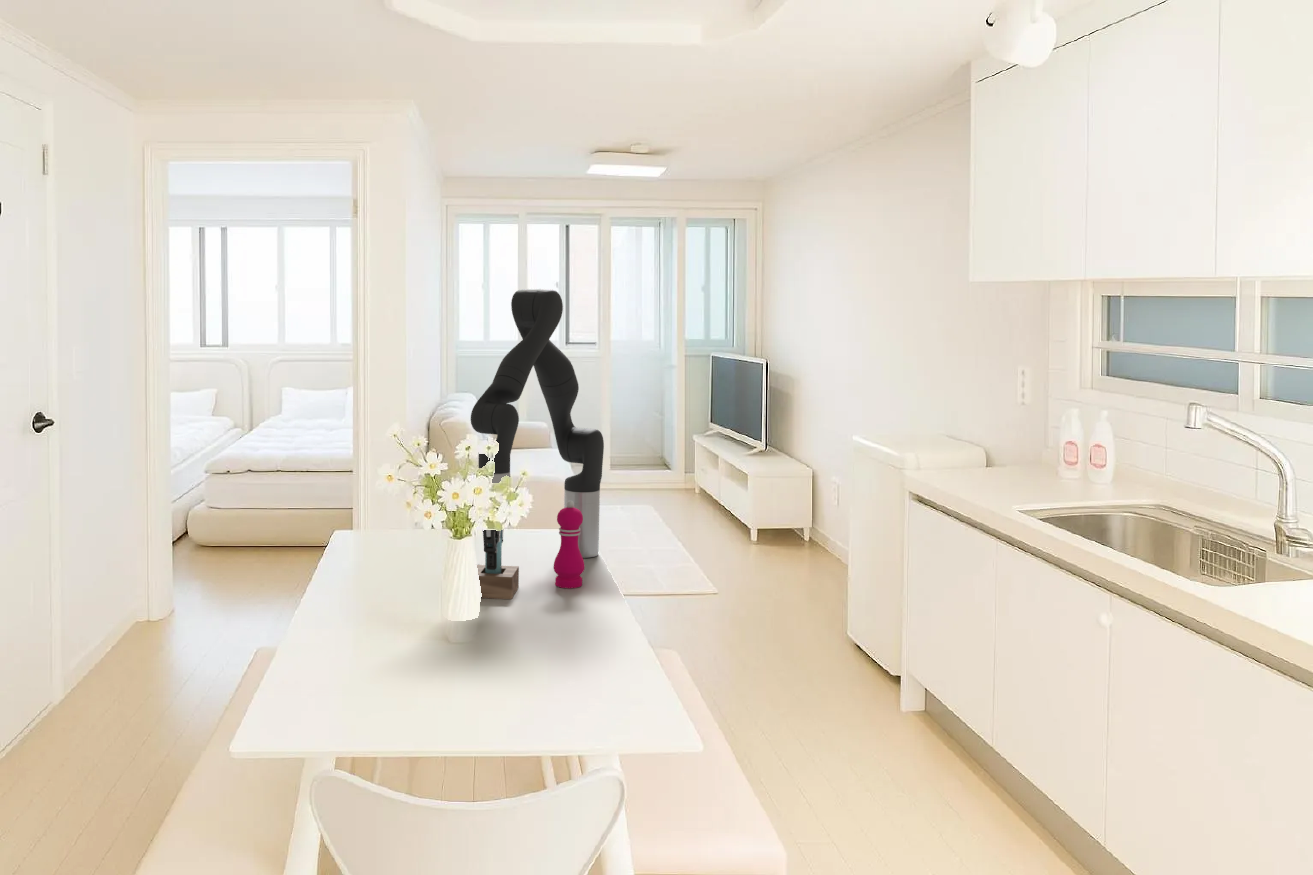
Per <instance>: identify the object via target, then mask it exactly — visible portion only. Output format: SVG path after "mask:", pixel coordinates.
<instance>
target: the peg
mask: <svg viewBox="0 0 1313 875" xmlns="http://www.w3.org/2000/svg"><path fill="white" fill-rule="evenodd" d="M495 539H496V538H495ZM502 545H503V543H502V538H500V542H499V543H498V546H497V549H498V552H497V568H496V569H495V570H488V569H487V553H486V552H484V553H485V555H484V556H485V558H484V559H485V561H484V565H485V573H489V574H501V566H502V554H503V553H502V548H503V546H502ZM489 547H493V544H489Z"/></svg>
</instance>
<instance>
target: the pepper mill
mask: <svg viewBox="0 0 1313 875" xmlns="http://www.w3.org/2000/svg"><path fill="white" fill-rule="evenodd" d="M566 505H567V507H566V508H564V507H563V508H561V509H560V510H559V511H558V513H557V516H556V522H557V524H558V525H559V528H558V530H559V532H558V535H560V545H559V550H558V552H557V554H556V557H555V558H554V562H553V571H554V573H555V574H556V577H555V581H554V583H555V584H554V585H555V586H556V587H557V588H562V589H576V588H580V587H582V586H583V577H582V576H581V575H582V574H583V572H584V571H585V568H586V567H585V561H584V558H583V557H582V555H581V553H580V550H579V546H578V536H579V535H580V530H581V529H580V528H579V526H580V525H581V524H582V522H583V515H582V513H581V511H580V510H579V509H577V508H574V507H573V506H574V503H573V501H568V502H567V504H566Z"/></svg>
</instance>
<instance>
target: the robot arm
mask: <svg viewBox="0 0 1313 875" xmlns="http://www.w3.org/2000/svg"><path fill="white" fill-rule="evenodd" d="M510 305H511V309H510V310H511V314H512V317H513V320H514V323H515V325H516V328H517V330H518V333H519V334H520V336H521V338H522V339H521V341H519V342H518V343H517V344H516V345H515V346H514V347H513V348H512V349H511V350H510V351H508V352H507V353H506V355H505V356H504V357H503V358H502V360H501V362H500V363H499V365H498V368H497V370H496V373H495V375H494V378H493V380H492V382H491V384H490V385H489V386H488V387H487V389H486V390H485V391H484V392H483V394H481V396H480V397H479V398H478V399H477V401H476V402H475V404H474V406H473V408H472V410H471V413H470V425H471V428H472V429H473V430H474V431H475V432H476V433H478V434H483V435H484V434H486V435H496V439H495V441H497V442H498V443H499V451H498V453H497V454H496V455H495V458H494V462H495V473H494V477H493V479H492V483H499V482H500V481H501V478H502V477H504V476H506V475H507V476H509V477H511V455H512V454H511V453H512V450H513V445H514V440H515V437H516V433H517V430H518V427H519V422H520V418H519V416H520V415H519V412H518V410H517V408H516V407H515V406H514V405H513V404H511V403H514V402H516V401H518V400H519V399H520V398H521V396H522V394H523V391H524V389H525V387H526V386H525V385H526V383H527V382H528V379H529V375H530V373H531V371H532V369H533V368H534V371H535V374H536V378H537V381H538V385H539V386H540V390H541V393H542V394H543V397H544V398H543V399H544V400H545V403H546V408H547V410H548V413H549V415H550V418H551V419H550V420H551V422H552V424H551V425H552V429H553V431H554V437H555V441H556V445H557V449H558V452H559V455H560V456H561V459H562V460H564V461H565V462H567V463H571V464H582V469H581V472H579V473H578V474H575V475H571V476H568V477H566V478H565V479H564V480H565V481H564V484H563V486H564V491H563V492H564V495H563V496H564V498H563V501H564V502H563V503H564V504H563V508H566V507H567V505H566V504H567V502H568V501H573V503H574V506H573V507H574V508H577V509H579V510H580V511H581V513H582V515H583V522H582V524H581V525H580V526H579V528H580V529H581V530H580V535H579V536H578V546H579V550H580V553H581V555H582V557H583V559H586V558H594V557H597V556H598V555H599V554H598V552H599V550H600V549H599V547H600V546H599V545H600V508H601V507H600V505H601V504H600V503H601V502H600V501H601V500H600V498H601V496H600V494H601V490H600V489H601V482H602V477H603V465H604V464H603V463H604V462H603V461H604V449H605V448H604V447H605V444H604V442H605V441H604V436H603V434H602V432H601V431H600V430H598V429H595V428H588V427H587V428H585V427H576V426H575V425H574V423H573V419H572V416H571V415H572V414H571V412H572V409H573V407H574V405H575V402H576V400H577V397H578V394H579V382H578V379H577V375H576V372H575V369H574V366H573V364H572V362H571V360H570V359H569V358H568V357H567V356H566V355H565V354H564V353H563V351H561V349H560V348H558V346H556V344H554V343H553V342H552V341H551V340H550V339H551V337H552V335H553V334H554V332H555V331H556V330H557V327H558V325H559V323H560V321H561V319H562V315H563V311H564V310H563V309H564V308H563V307H564V305H563V299H562V295H561V294H560V293H559V292H558V291H557V290H554V289H549V288H523V289H519V290H516V291H515V292H514V293H513V295H512V298H511V302H510ZM477 460H478V468H482V467H483V466H485V465H486V463H487V462H488V461H490V458H489V460H488V457H487V456H486V455H485V454H479V453H478V459H477ZM492 461H493V460H492ZM482 532H483V533H482V536H483V551H484V553H485V552H486V553H487V569H488V570H495V569H496V568H497V552H498V549H497V546H498V543H499V542H500V538H502V544H503V542H504V529H503V530H501V531H496V530H484V531H483V530H482ZM495 538H496V539H495ZM489 544H493V547H489Z"/></svg>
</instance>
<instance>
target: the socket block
mask: <svg viewBox="0 0 1313 875" xmlns="http://www.w3.org/2000/svg"><path fill="white" fill-rule="evenodd" d="M476 565H477V568H478V575H479V580H480V586H481V593H482V598H481V599H495V600H497V599H498V600H499V599H500V600H501V599H502V600H512V599H513V598H514V596H515V594H516V593H517V591H518V590H519V584H520V583H519V582H520V581H519V579H520V578H519V577H520V566H519V565H501V574H489V573H485V564H476Z"/></svg>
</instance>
